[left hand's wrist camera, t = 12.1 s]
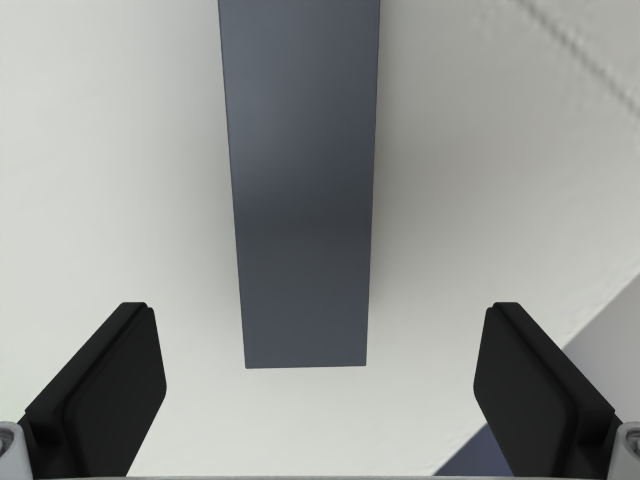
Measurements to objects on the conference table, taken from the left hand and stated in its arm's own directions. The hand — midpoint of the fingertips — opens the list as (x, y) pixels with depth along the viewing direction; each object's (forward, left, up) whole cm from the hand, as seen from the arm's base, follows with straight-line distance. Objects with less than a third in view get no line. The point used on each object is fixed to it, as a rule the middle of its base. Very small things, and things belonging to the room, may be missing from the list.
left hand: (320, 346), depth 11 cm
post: (-9, -29, -14) cm, 33 cm away
